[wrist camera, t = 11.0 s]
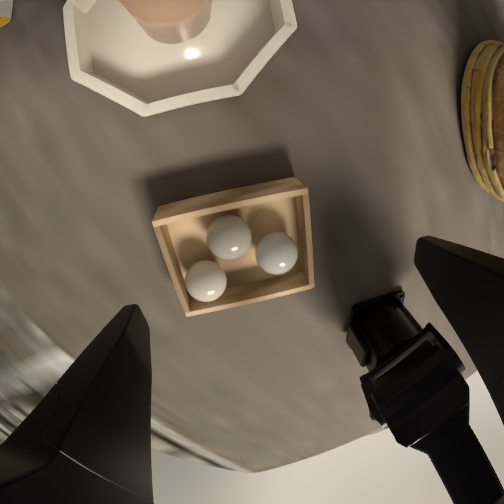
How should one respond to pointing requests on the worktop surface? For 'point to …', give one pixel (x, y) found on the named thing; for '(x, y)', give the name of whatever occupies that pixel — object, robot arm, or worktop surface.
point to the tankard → (485, 115)
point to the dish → (172, 53)
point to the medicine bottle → (5, 11)
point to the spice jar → (170, 18)
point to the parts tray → (260, 223)
